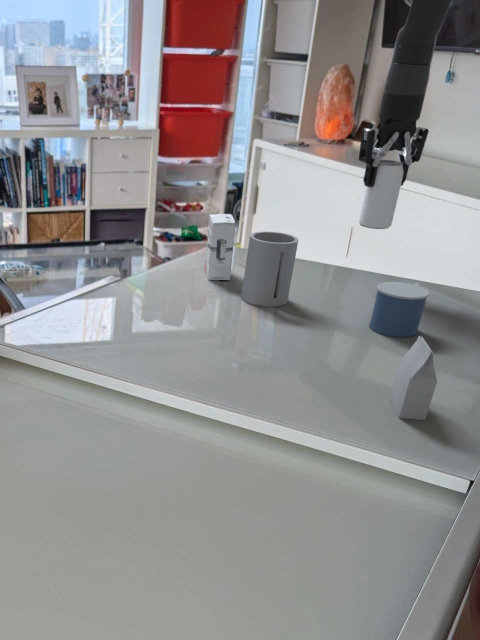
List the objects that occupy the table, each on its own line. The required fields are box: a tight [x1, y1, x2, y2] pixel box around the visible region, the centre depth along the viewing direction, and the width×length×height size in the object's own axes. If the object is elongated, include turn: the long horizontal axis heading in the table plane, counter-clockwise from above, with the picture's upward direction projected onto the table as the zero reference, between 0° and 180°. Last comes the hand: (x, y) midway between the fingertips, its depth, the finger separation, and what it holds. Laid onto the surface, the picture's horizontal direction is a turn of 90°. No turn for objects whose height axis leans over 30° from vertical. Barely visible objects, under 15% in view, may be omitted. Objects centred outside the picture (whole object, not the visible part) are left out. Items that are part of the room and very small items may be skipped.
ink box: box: [204, 213, 237, 281], centre depth 161 cm, size 9×5×12 cm, turn 178°
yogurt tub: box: [368, 281, 430, 338], centre depth 138 cm, size 9×9×7 cm
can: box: [358, 159, 403, 230], centre depth 153 cm, size 6×6×12 cm
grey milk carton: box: [388, 335, 438, 421], centre depth 109 cm, size 4×7×10 cm, turn 173°
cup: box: [240, 231, 299, 308], centre depth 149 cm, size 9×9×12 cm
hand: (383, 185), depth 152 cm, fingers closed on can, 6 cm apart
